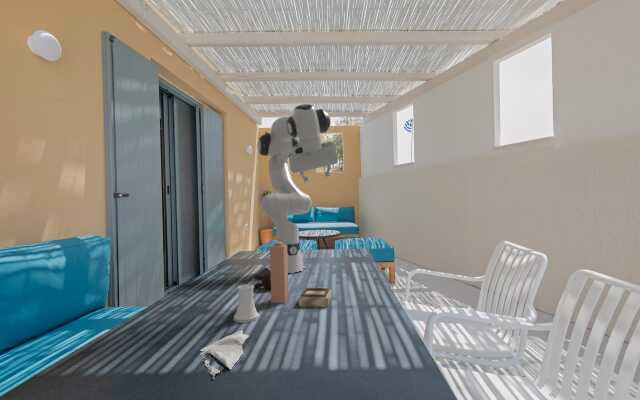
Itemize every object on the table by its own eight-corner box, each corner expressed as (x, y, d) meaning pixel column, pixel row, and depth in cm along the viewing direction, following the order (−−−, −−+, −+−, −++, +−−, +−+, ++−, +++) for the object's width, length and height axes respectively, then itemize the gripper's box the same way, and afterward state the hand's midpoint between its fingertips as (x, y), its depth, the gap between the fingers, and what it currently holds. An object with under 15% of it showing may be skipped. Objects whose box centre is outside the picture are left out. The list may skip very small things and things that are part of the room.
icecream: (291, 271, 142) (257, 273, 146) (285, 270, 135) (250, 272, 139) (291, 288, 141) (257, 290, 144) (285, 288, 134) (250, 290, 137)
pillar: (271, 302, 121) (269, 243, 121) (275, 298, 126) (273, 241, 126) (284, 303, 120) (283, 243, 120) (288, 298, 125) (287, 241, 125)
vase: (253, 323, 102) (252, 290, 102) (229, 322, 103) (228, 289, 103) (262, 314, 109) (261, 283, 109) (240, 313, 111) (239, 282, 111)
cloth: (225, 331, 98) (225, 323, 98) (271, 334, 95) (270, 326, 95) (167, 379, 73) (166, 369, 73) (226, 386, 70) (226, 375, 70)
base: (298, 305, 117) (298, 294, 117) (304, 297, 127) (304, 286, 127) (327, 306, 116) (327, 295, 116) (331, 297, 125) (331, 287, 125)
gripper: (332, 140, 144) (337, 172, 147) (285, 150, 139) (291, 182, 143) (337, 141, 138) (342, 174, 142) (288, 151, 133) (295, 185, 137)
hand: (316, 178), depth 142 cm, fingers open, 8 cm apart
